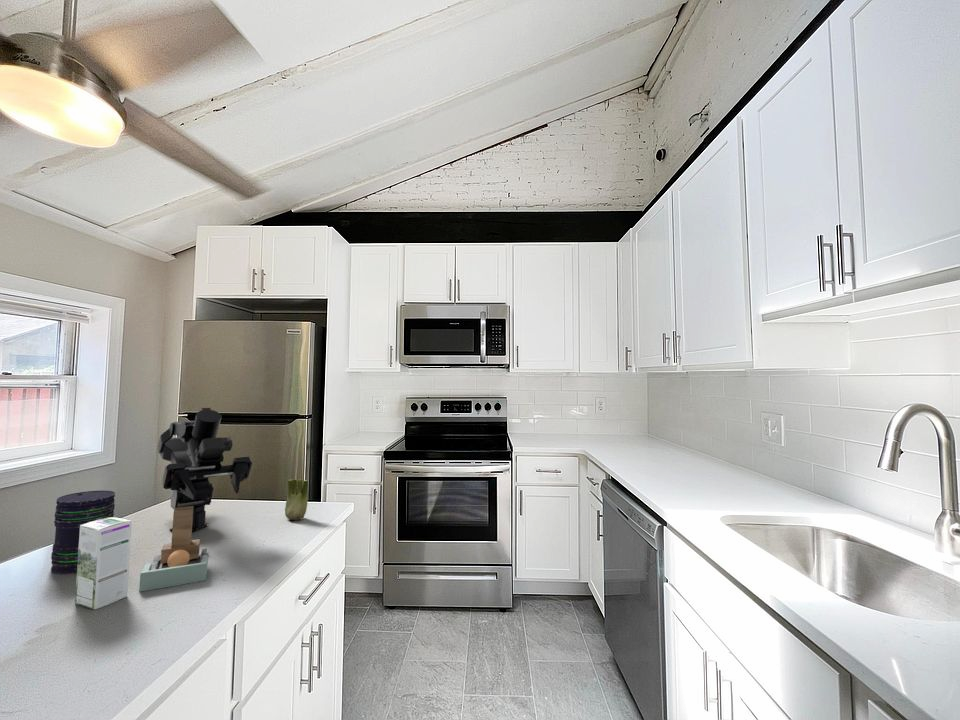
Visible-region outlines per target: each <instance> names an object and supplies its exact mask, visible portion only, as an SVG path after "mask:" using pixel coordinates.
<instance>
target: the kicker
mask: <svg viewBox="0 0 960 720" xmlns="http://www.w3.org/2000/svg"><path fill="white" fill-rule="evenodd" d="M172 515H173V516H172V517H173V519H172V528H173V529H172V531H171V534H172V535H171V542H168V543H163V546H162V547H161V553H160V555H161V558H160V564H161V565H162V564H168V563H167V561H168V558H169V556H170V555H171V554H172V553H173V552H175V551H177V550H185V551H187V552H188V553H189V556H190V559H189V561H190V560H195V559H199V556H200V548H201V546H200V545H201V539H199V538H198V539H192V533H193V532H192V521H193V506H189V507H178V508H175V510H174V509H173V513H172Z"/></svg>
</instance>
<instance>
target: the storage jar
mask: <svg viewBox="0 0 960 720" xmlns="http://www.w3.org/2000/svg"><path fill="white" fill-rule="evenodd" d="M115 497H116V492H115V491H113V490H89V491H80V492H74V493H69V494H65V495H61V496H59V497H57V498H56V502H55V503H56V505H55V511H54V522H53V523H54V527H55V533H54V534H55V535H54V542H53V545H52V552H51V554H50V555H51V556H50V560H51V568H50V572H51V573H52V574H54V575H75V574H77V564H78V548H79V534H80V525H83V524H86V523H89V522H92V521H95V520H99V519H103V518H108V517H114V515H115V512H114V511H115V507H116V506H115Z"/></svg>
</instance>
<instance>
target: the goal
mask: <svg viewBox="0 0 960 720" xmlns="http://www.w3.org/2000/svg"><path fill="white" fill-rule="evenodd" d="M208 561H209V554H206V555H203V557H202V563H200V562H198V563H197V562H196V563H191V564H187V565H183V566H176V567H169V566H168V567H163V568H157V569H156V570H151V566H152V562H148V563H145V564H144V567H143V569H142V571H140V574H139V586H138V587H139V589H138V592H139V593H140V592H144V591H146V592H147V591H152V590H156V589H157V590H159V589H164V588H168V587H169V588H170V587H175V586H180V585H181V584H182V585H185V584H186V585H188V584H193V583H192V582H194V583H199V582H198V581H200V582H205V580H207V573H208V572H207V571H208ZM187 583H188V584H187Z"/></svg>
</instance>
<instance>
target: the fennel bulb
mask: <svg viewBox="0 0 960 720" xmlns="http://www.w3.org/2000/svg"><path fill="white" fill-rule="evenodd" d="M287 482H288V483H287V485H288V486H287V488H288V489H287V498H286V502H285V507H284V508H285V509H284V515H285V517H286V518H287V519H288V520H291V521H298V520H303V519H304V517H305V515H306V513H307V509H308V487H309V480H306V479H304V480H303V479H295V478H294V479H288V480H287Z"/></svg>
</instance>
